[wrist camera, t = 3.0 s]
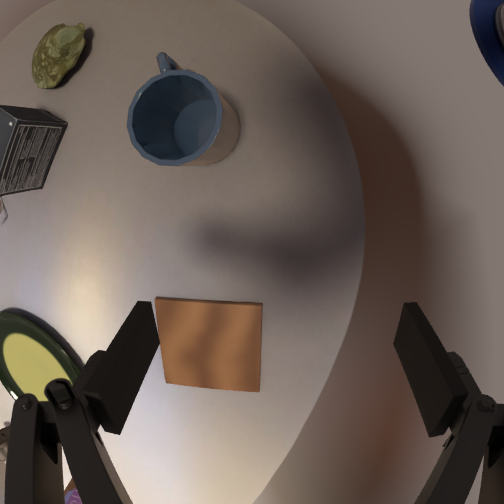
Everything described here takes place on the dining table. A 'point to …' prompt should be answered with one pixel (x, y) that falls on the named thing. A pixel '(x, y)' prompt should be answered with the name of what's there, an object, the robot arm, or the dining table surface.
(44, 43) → the seashell
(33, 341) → the plate
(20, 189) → the small box
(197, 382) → the cork mat
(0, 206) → the eyeglasses
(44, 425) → the robot arm
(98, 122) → the dining table surface
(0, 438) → the alarm clock
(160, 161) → the mug
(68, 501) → the cereal box
